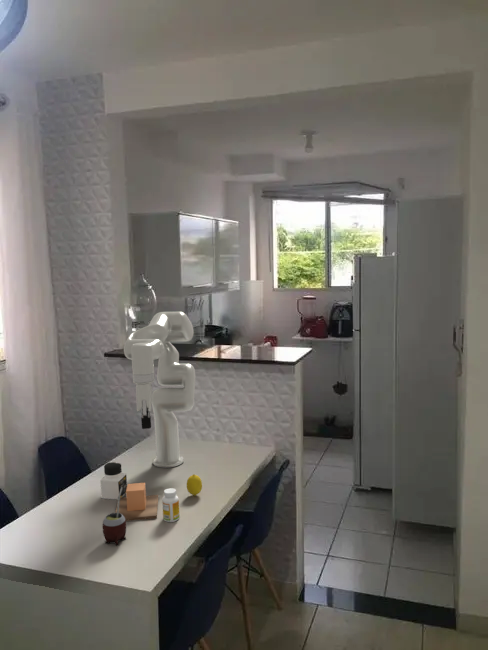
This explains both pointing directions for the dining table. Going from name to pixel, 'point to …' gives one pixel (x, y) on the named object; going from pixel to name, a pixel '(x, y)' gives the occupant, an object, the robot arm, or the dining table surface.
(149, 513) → the base board
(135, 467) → the dining table surface
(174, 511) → the supplement bottle
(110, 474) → the medicine bottle
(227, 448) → the dining table surface
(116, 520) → the mate gourd
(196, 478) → the lemon
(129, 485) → the tan wooden cube
